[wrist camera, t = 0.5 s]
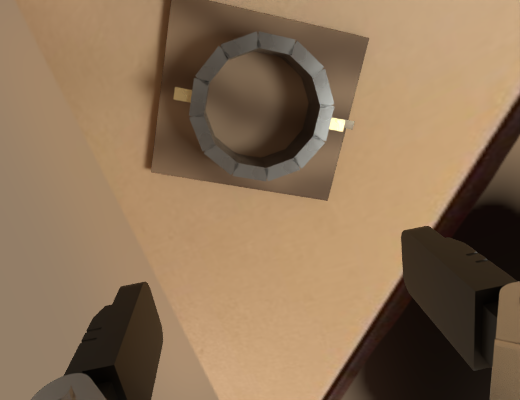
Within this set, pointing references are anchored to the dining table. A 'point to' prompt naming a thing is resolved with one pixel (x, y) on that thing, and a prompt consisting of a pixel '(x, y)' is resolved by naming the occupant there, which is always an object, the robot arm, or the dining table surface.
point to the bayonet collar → (315, 119)
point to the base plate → (250, 95)
